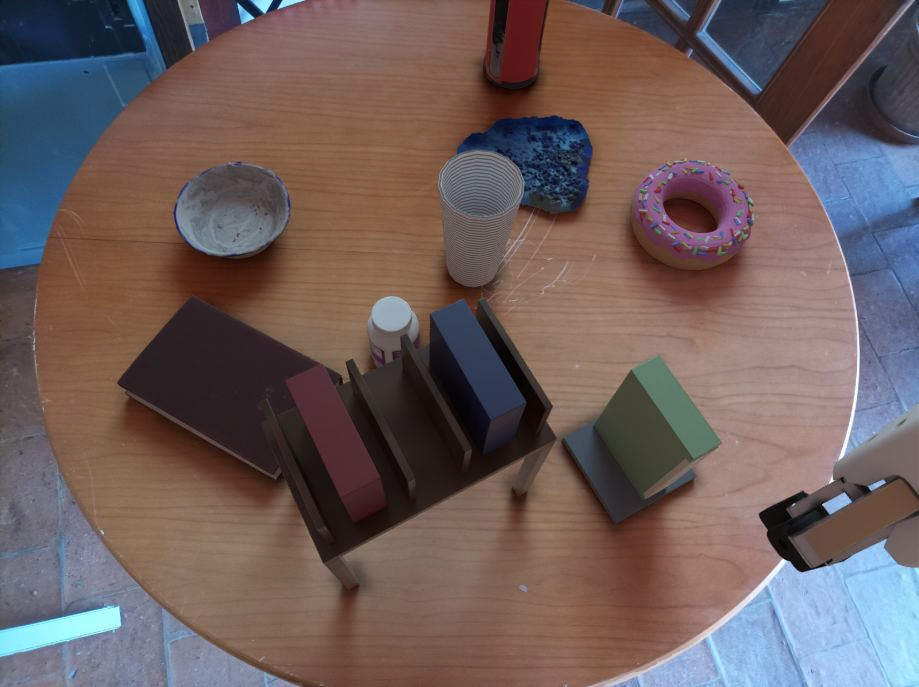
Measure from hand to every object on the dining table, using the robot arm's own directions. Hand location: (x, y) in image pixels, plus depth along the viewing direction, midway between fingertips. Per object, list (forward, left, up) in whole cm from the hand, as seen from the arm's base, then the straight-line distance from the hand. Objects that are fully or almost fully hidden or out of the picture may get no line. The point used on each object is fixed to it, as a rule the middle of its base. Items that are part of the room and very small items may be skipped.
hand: (855, 493), depth 35 cm
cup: (+39, -2, -36) cm, 53 cm away
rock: (+49, -15, -36) cm, 63 cm away
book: (+37, +28, -36) cm, 59 cm away
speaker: (+64, -22, -36) cm, 77 cm away
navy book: (+19, +11, -18) cm, 28 cm away
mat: (+11, -5, -36) cm, 38 cm away
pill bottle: (+33, +11, -36) cm, 50 cm away
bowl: (+56, +20, -36) cm, 70 cm away
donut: (+32, -28, -36) cm, 56 cm away
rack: (+19, +16, -36) cm, 44 cm away
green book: (+11, -5, -35) cm, 37 cm away
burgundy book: (+19, +22, -18) cm, 34 cm away
